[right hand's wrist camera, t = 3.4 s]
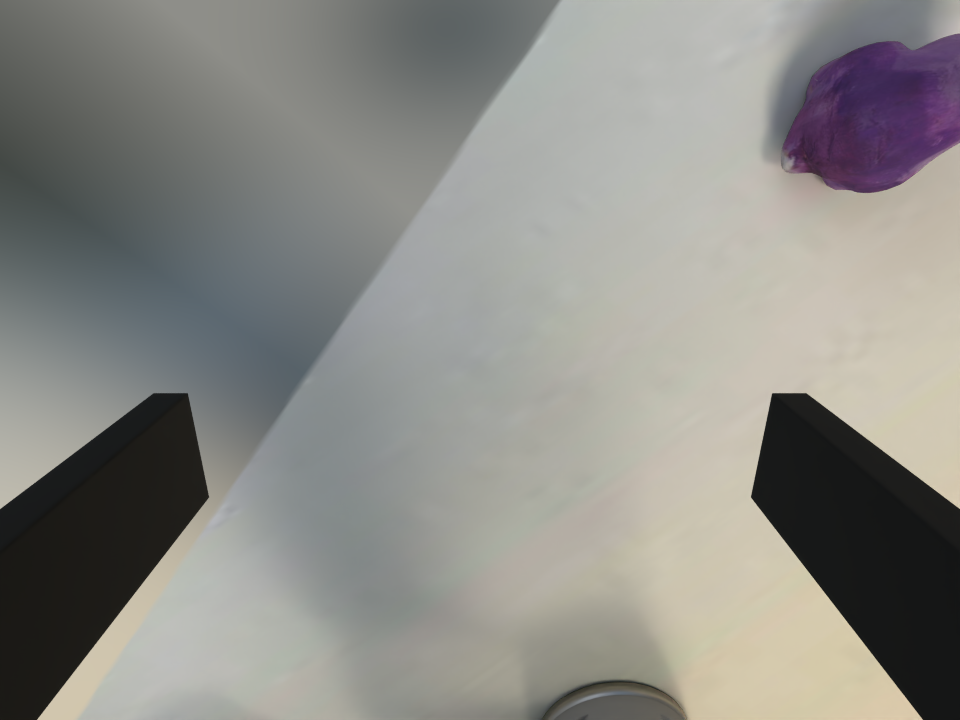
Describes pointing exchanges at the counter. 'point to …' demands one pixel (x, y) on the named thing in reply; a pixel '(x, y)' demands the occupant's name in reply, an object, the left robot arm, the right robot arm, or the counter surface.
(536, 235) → the counter surface
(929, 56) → the figurine
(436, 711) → the counter surface
